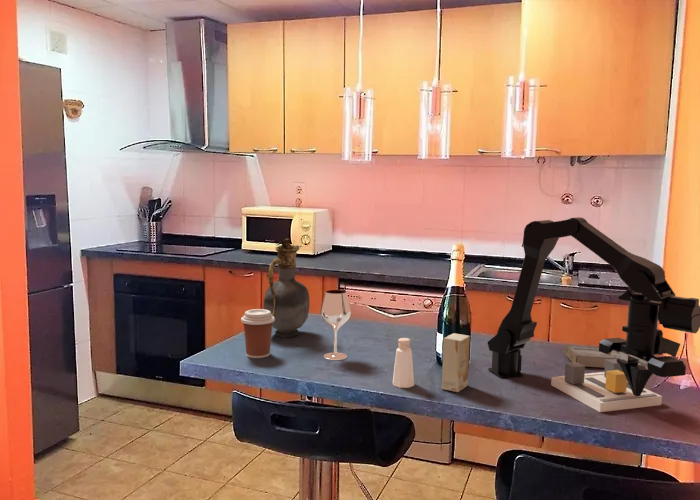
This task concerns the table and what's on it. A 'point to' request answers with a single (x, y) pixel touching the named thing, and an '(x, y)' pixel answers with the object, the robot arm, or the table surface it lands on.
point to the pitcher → (286, 293)
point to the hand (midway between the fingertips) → (636, 395)
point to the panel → (601, 389)
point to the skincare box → (455, 362)
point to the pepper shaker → (403, 365)
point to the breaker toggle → (616, 381)
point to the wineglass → (335, 316)
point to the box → (589, 355)
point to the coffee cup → (257, 332)
